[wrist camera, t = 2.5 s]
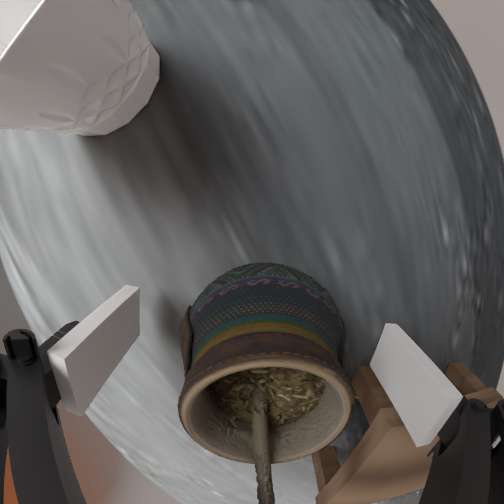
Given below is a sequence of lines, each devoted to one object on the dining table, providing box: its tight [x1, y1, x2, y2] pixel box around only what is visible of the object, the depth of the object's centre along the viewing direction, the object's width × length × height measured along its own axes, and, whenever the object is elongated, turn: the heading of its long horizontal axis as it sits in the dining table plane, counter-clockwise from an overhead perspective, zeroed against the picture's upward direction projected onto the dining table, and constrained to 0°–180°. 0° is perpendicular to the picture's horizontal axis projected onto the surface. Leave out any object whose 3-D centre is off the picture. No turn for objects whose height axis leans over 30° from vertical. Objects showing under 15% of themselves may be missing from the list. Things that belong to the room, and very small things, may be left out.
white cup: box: [0, 0, 160, 136], centre depth 7 cm, size 8×8×10 cm
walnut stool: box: [312, 361, 503, 504], centre depth 14 cm, size 11×11×6 cm
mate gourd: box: [178, 263, 358, 504], centre depth 10 cm, size 7×8×10 cm
